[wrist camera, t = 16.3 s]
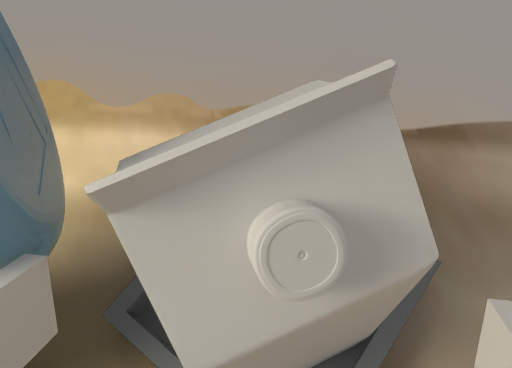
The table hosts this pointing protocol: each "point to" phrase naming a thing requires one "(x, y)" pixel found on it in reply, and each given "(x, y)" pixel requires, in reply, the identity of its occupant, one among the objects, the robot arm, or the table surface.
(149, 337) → the tray
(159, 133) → the table surface
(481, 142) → the table surface
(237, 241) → the milk carton
